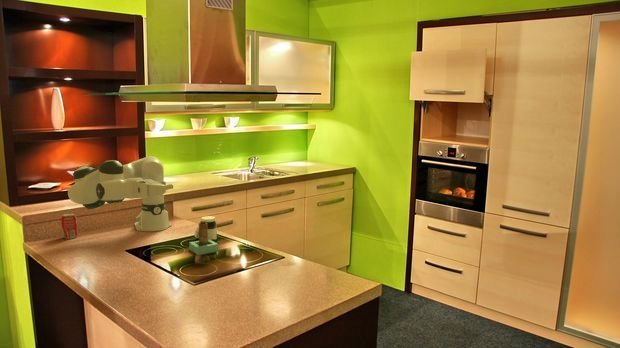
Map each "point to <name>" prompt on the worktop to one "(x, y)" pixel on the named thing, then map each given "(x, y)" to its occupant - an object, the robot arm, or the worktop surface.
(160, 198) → the robot arm
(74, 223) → the soda can
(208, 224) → the spread jar
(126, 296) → the worktop surface
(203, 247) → the teal square tray
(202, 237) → the brown textured cylinder
